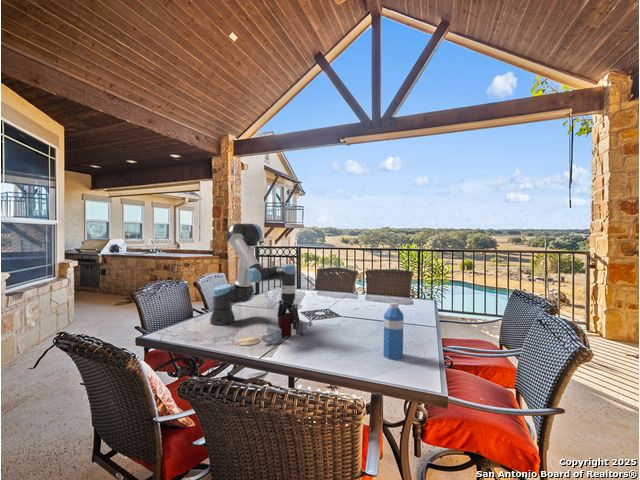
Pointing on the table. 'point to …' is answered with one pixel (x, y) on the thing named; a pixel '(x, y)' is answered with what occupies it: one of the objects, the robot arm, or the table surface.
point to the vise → (275, 333)
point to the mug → (285, 324)
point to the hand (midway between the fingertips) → (287, 332)
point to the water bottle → (393, 332)
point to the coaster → (248, 341)
